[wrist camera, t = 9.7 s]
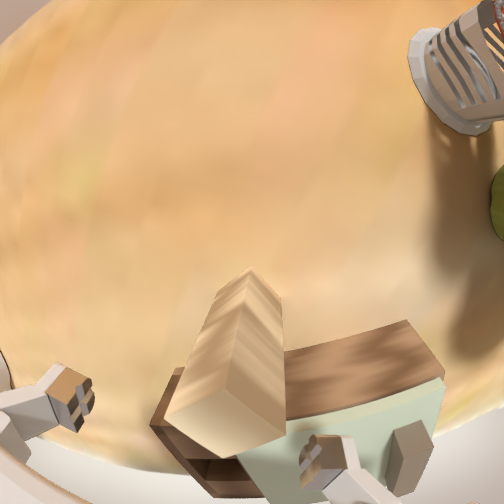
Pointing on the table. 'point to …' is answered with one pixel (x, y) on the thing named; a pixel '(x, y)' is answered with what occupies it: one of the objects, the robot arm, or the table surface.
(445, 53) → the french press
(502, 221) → the plant pot
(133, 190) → the table surface
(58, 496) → the robot arm
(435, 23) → the table surface
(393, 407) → the lid
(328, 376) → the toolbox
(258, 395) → the wooden block
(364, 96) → the table surface
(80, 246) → the table surface
